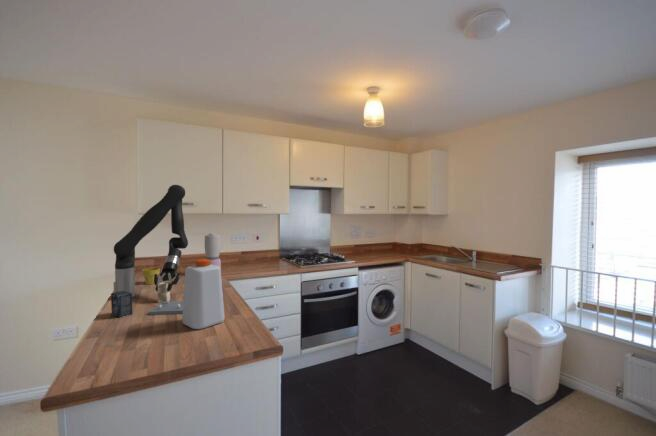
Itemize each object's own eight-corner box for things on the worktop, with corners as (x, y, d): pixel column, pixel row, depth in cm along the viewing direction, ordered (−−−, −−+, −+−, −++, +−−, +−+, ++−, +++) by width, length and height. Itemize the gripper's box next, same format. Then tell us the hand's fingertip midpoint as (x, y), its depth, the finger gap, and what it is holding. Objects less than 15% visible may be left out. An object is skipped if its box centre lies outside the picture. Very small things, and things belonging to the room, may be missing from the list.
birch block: (157, 302, 163) (157, 284, 162) (161, 300, 167) (161, 282, 167) (166, 302, 163) (166, 284, 163) (169, 299, 168) (169, 282, 167)
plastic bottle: (210, 314, 145) (210, 256, 144) (228, 321, 135) (227, 259, 134) (178, 323, 133) (177, 260, 132) (195, 332, 123) (194, 264, 123)
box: (111, 315, 143) (110, 293, 143) (124, 311, 148) (123, 290, 148) (119, 318, 140) (119, 295, 139) (132, 314, 144) (132, 292, 144)
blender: (216, 276, 226) (215, 234, 225) (201, 276, 227) (200, 234, 227) (225, 272, 242) (225, 232, 241) (211, 271, 243) (210, 232, 242)
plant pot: (139, 284, 204) (138, 269, 203) (154, 280, 213) (153, 267, 213) (148, 285, 199) (148, 271, 199) (163, 282, 208) (163, 268, 208)
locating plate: (148, 314, 144) (148, 307, 143) (163, 304, 159) (163, 297, 159) (183, 313, 145) (183, 306, 145) (194, 303, 161) (194, 296, 161)
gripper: (156, 261, 172) (146, 287, 160) (182, 260, 173) (174, 286, 162) (160, 268, 177) (151, 294, 165) (185, 268, 179) (178, 293, 167)
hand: (162, 290), depth 164 cm, fingers open, 5 cm apart
